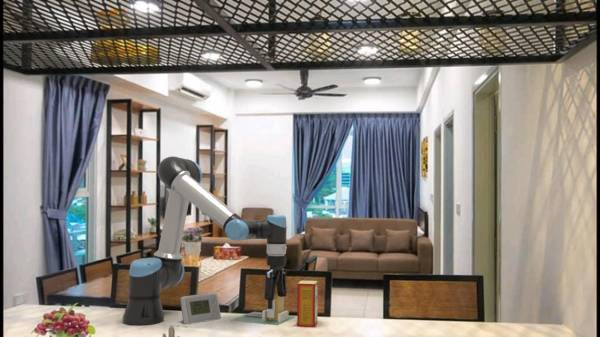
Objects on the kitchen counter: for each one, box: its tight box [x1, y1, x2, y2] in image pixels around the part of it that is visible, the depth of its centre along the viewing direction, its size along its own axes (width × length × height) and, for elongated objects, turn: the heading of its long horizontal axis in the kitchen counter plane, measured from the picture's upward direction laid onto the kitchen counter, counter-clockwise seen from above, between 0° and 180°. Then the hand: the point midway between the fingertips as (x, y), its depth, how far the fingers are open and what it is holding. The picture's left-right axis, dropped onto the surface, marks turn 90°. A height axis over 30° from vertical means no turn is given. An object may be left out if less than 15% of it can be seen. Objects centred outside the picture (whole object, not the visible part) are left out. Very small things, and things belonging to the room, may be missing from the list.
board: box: [230, 309, 296, 326], centre depth 187 cm, size 20×17×5 cm
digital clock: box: [179, 292, 222, 328], centre depth 183 cm, size 16×9×11 cm, turn 122°
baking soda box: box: [296, 279, 319, 329], centre depth 184 cm, size 10×6×16 cm
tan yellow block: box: [269, 296, 283, 321], centre depth 185 cm, size 4×4×8 cm
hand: (275, 315), depth 185 cm, fingers open, 7 cm apart
